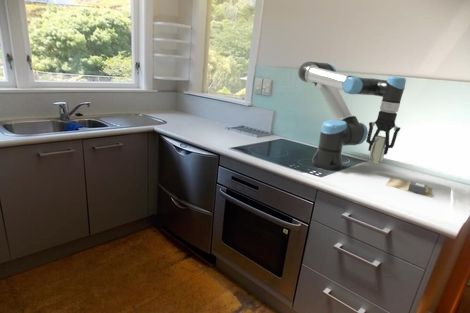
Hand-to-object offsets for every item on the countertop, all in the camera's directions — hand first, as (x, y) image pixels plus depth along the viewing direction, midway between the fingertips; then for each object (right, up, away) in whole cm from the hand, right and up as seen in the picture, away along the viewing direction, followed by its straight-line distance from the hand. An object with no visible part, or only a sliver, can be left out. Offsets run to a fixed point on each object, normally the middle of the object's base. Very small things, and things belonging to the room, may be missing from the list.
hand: (375, 158), depth 140 cm
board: (+9, -13, -12) cm, 20 cm away
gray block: (+9, -14, -17) cm, 24 cm away
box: (0, -2, +1) cm, 2 cm away
